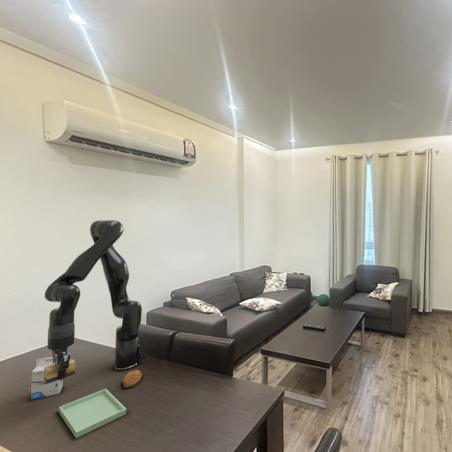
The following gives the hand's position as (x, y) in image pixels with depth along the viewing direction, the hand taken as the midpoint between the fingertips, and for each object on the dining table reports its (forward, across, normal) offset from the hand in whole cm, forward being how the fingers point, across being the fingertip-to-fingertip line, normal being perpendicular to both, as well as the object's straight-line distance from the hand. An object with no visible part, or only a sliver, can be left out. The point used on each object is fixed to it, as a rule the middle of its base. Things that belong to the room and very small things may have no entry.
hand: (60, 376), depth 107 cm
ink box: (+11, +13, +1) cm, 17 cm away
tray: (+11, -16, -6) cm, 21 cm away
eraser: (0, 0, 0) cm, 0 cm away
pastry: (+11, -5, -23) cm, 26 cm away
